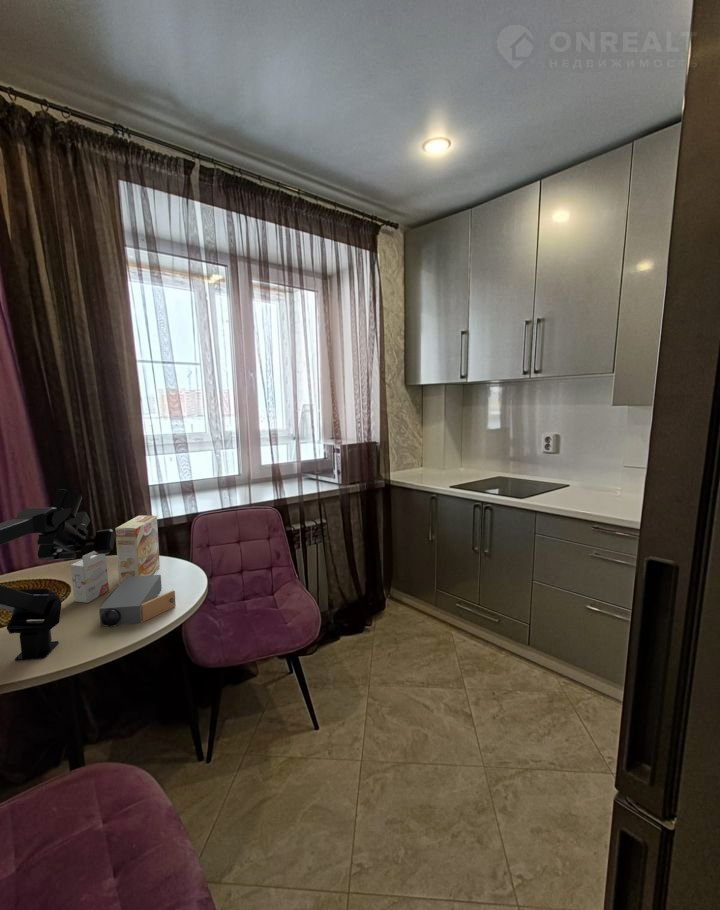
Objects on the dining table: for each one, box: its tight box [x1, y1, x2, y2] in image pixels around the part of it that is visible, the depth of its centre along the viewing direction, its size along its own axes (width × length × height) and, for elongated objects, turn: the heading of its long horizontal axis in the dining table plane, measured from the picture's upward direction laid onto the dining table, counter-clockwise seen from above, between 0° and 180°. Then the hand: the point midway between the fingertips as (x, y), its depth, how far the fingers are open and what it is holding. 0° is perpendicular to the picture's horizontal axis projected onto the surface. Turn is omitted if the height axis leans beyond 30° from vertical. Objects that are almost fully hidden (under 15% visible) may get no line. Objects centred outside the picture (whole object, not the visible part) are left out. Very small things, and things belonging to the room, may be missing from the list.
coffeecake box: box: [114, 515, 161, 586], centre depth 142 cm, size 15×7×20 cm, turn 1°
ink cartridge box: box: [70, 550, 110, 604], centre depth 128 cm, size 9×5×15 cm, turn 168°
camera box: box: [98, 574, 163, 627], centre depth 122 cm, size 21×10×5 cm, turn 10°
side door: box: [141, 589, 177, 622], centre depth 118 cm, size 10×2×5 cm, turn 150°
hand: (92, 554), depth 123 cm, fingers open, 9 cm apart
